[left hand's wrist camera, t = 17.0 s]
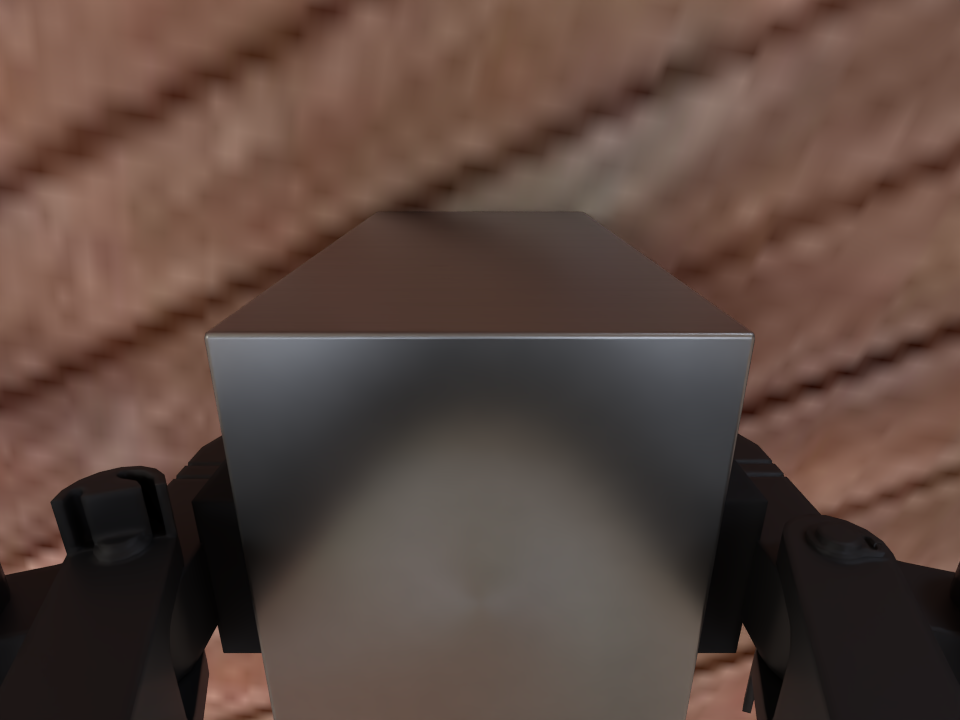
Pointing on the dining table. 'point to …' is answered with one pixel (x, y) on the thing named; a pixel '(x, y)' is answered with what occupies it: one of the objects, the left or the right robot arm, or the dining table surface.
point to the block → (479, 470)
